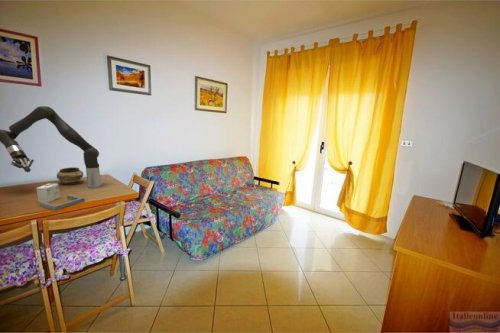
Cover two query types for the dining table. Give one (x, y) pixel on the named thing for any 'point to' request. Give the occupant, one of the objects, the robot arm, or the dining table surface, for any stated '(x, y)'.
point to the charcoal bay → (63, 205)
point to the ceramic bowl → (70, 175)
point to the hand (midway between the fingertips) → (28, 171)
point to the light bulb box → (48, 192)
